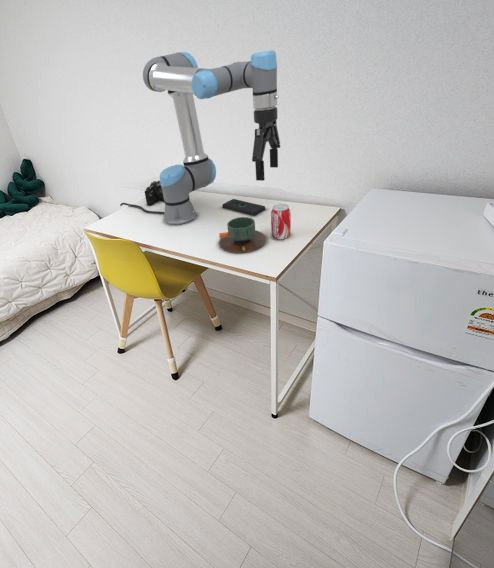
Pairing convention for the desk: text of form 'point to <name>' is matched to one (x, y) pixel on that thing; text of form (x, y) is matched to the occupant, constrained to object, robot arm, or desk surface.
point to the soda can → (281, 221)
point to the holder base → (243, 244)
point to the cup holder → (240, 229)
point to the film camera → (154, 193)
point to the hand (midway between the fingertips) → (267, 173)
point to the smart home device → (244, 207)
